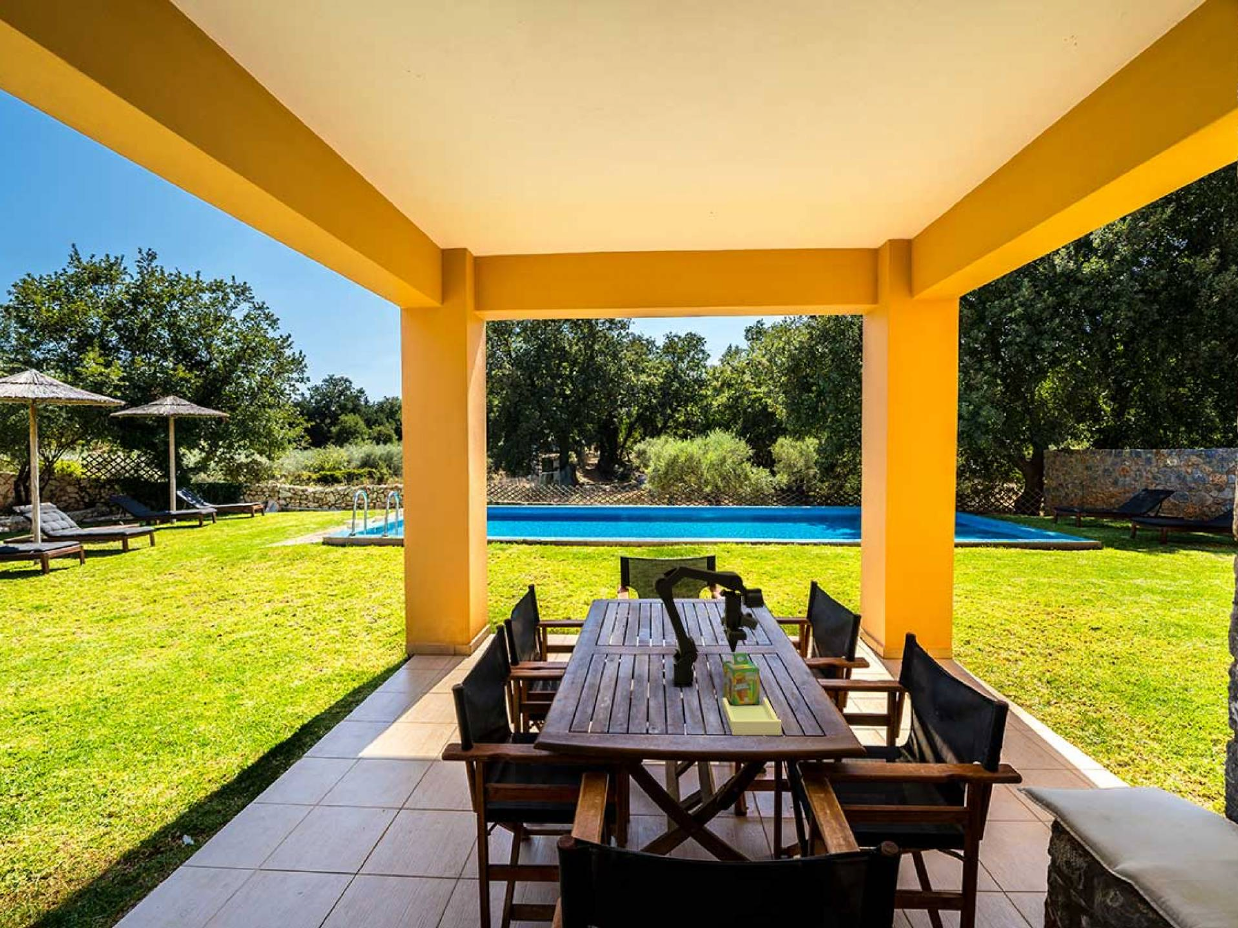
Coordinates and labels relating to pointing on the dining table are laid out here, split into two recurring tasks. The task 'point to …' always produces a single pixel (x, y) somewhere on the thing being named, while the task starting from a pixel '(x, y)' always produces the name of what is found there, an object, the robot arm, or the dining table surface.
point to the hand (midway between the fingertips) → (733, 652)
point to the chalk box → (741, 681)
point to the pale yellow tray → (752, 719)
